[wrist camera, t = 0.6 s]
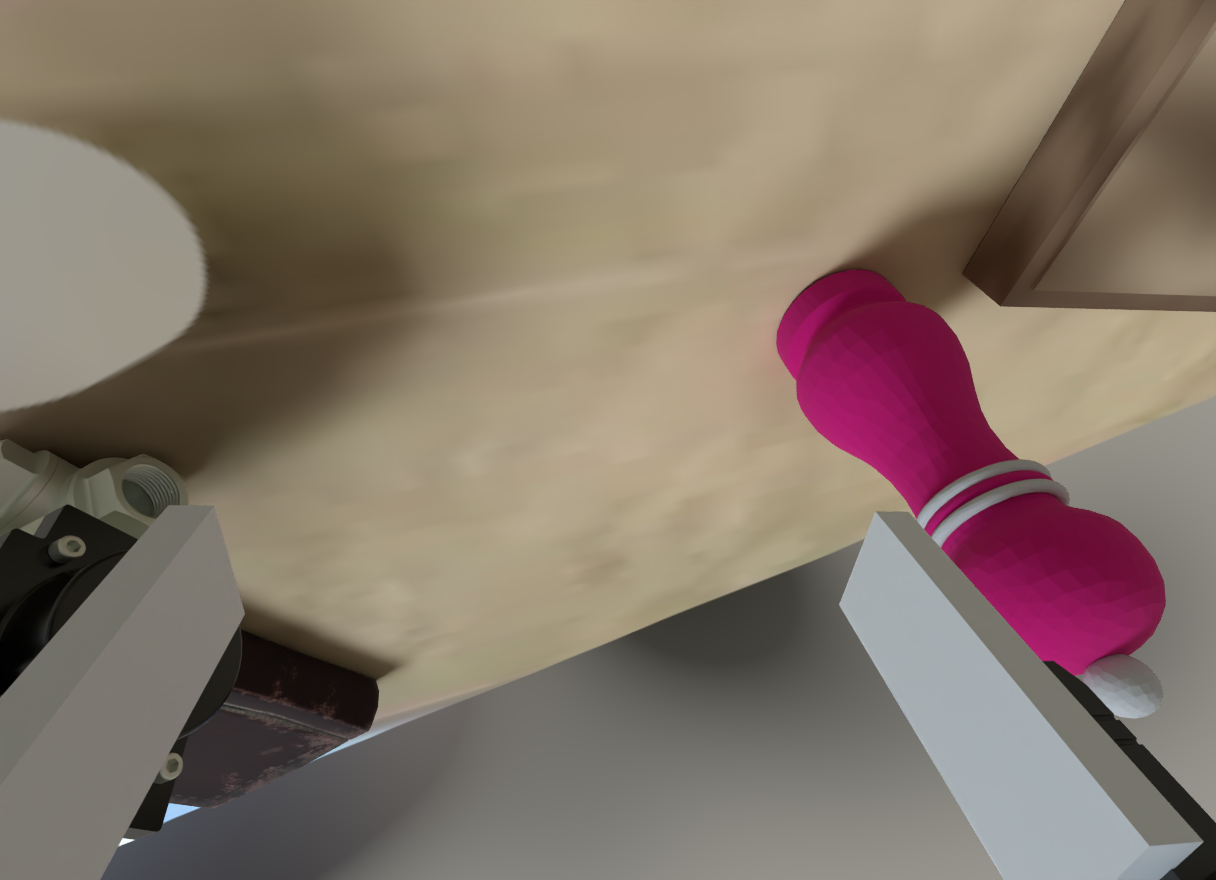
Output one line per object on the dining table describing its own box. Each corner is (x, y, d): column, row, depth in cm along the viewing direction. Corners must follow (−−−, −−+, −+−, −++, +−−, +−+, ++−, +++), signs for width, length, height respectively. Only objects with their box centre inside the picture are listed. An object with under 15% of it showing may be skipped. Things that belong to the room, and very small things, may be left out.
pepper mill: (931, 275, 30) (1347, 651, 16) (848, 386, 34) (1117, 754, 21) (814, 243, 27) (1189, 656, 13) (741, 367, 32) (966, 772, 18)
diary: (33, 533, 32) (-17, 617, 28) (381, 668, 49) (377, 731, 45) (-161, 669, 36) (-225, 756, 33) (221, 750, 53) (206, 813, 50)
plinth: (1181, -94, 21) (1269, -85, 18) (1447, -34, 24) (1549, -20, 22) (962, 274, 30) (1002, 308, 28) (1173, 282, 33) (1224, 314, 31)
